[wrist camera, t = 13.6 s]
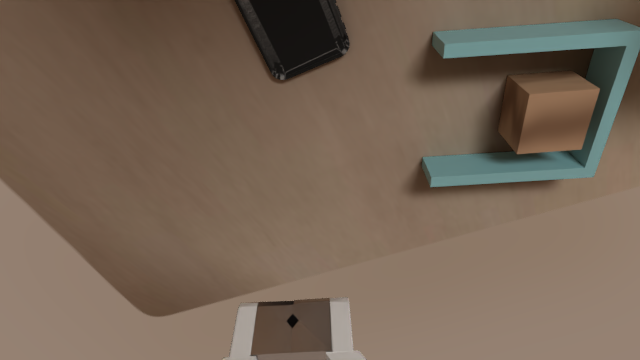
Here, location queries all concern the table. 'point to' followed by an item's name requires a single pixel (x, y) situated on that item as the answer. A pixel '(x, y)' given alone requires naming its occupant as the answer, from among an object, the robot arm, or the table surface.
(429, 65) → the table surface
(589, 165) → the box
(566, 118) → the walnut block
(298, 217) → the table surface
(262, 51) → the phone
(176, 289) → the table surface
